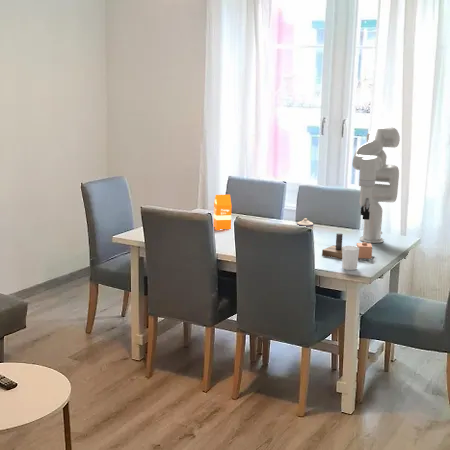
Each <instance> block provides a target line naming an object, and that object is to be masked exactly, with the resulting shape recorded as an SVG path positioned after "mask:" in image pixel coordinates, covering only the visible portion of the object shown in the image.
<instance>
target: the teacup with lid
mask: <svg viewBox="0 0 450 450" xmlns="http://www.w3.org/2000/svg"><path fill="white" fill-rule="evenodd" d="M297 225H299V226H306V227H310V228H312V229H313V230H314V223H313V222H312V221H310V220H308V218H306V217H305V218H303V220H301V221H297V223H296V226H297Z"/></svg>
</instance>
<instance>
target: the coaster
mask: <svg viewBox="0 0 450 450" xmlns="http://www.w3.org/2000/svg"><path fill="white" fill-rule="evenodd" d="M374 258H375V256H374V255H372V258H371V259H368V258H358V260H362V261H370V260H372V259H374Z"/></svg>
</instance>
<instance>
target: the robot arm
mask: <svg viewBox="0 0 450 450" xmlns="http://www.w3.org/2000/svg"><path fill="white" fill-rule="evenodd" d="M400 138H401V137H400V133H399V131H398V129H397V128H395V127H393V126H392V127H391V126H375V127H372V128H371V129H370V130H369V131H368V133H367V134H366V143H364V144H362V145H360V146H359V147H357V149H356V150H355V152H354V154H353V158H352V167H353V168H354V170H357V171H359V180H358V181H359V184H358V187H360V189H359V202H358V204H359V206H360V216H362V220H363V228H362V229H363V232H362V236H361V237H359V241H361V242H366V243H371V244H380V243H383V242H384V238H383V237H382V235H383V232H382V221H383V208H382V207H383V206H381V204H380V202H381V203H394V202H395V203H396V201H397V198H398V191H399V179H400V169H399V167H398V166H397V165H395V164H387V158H388V157H387V154H386V152H385V150H384V148H394V149H395V148H397V147H398V146H399V145H400V140H401V139H400ZM376 182H377V183H376ZM383 183H384V184H383ZM385 183H388V184H385Z"/></svg>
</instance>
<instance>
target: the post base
mask: <svg viewBox="0 0 450 450" xmlns="http://www.w3.org/2000/svg"><path fill="white" fill-rule="evenodd" d="M342 247H343V233H336V237H335V244H334V245H331V246H328V247H326V248H323V249H322V252H321V256H322V257H328V258H332V259H333V258H334V259H338V260H342Z"/></svg>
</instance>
